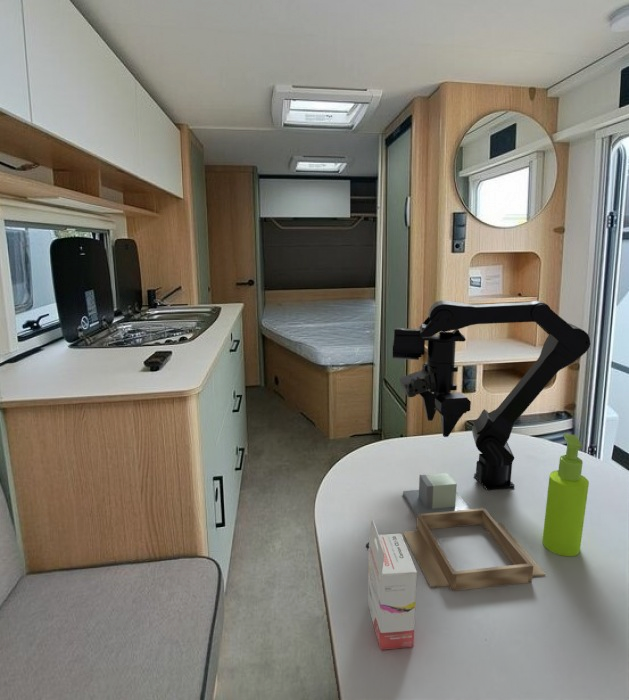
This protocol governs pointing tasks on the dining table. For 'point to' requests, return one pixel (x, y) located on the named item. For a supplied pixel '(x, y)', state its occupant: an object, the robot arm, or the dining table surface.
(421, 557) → the wooden frame
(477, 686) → the dining table surface
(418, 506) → the coaster
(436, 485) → the box
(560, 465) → the soap dispenser
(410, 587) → the ink cartridge box
